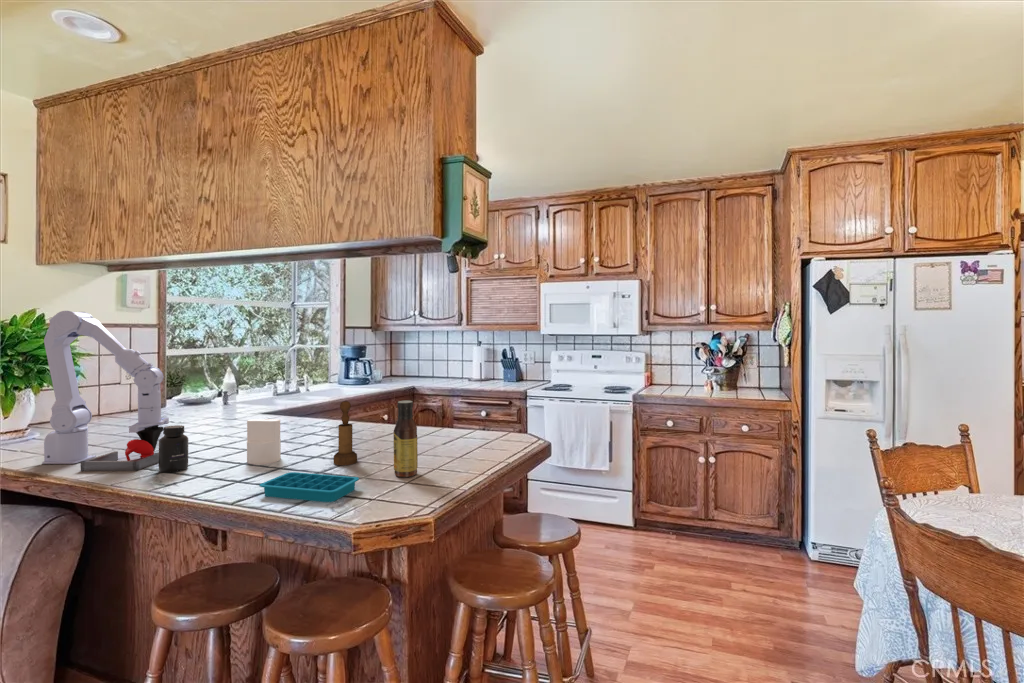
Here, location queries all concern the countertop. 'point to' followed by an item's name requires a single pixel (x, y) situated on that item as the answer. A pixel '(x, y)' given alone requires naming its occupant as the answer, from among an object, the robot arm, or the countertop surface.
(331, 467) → the countertop surface
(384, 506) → the countertop surface
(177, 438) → the supplement bottle
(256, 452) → the cream upright block
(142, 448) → the red curved piece
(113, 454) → the tray
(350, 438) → the brown wooden pepper mill
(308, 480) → the ice cube tray
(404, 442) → the sauce bottle
